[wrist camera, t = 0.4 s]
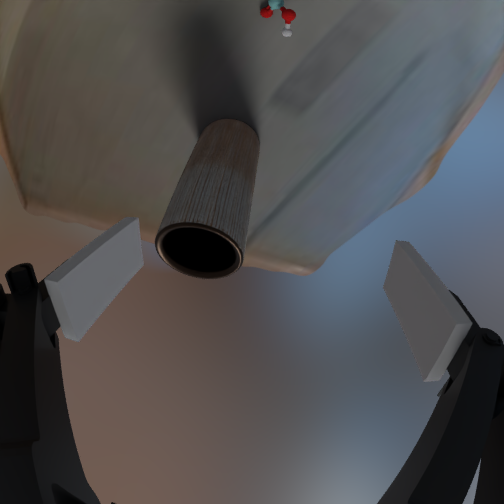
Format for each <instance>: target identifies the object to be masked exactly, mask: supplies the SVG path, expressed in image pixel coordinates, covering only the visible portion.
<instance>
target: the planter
mask: <svg viewBox="0 0 504 504" xmlns="http://www.w3.org/2000/svg"><path fill="white" fill-rule="evenodd" d="M259 149H260V144H259V139H258V137H257V135H256V133H255V132H254V130H253V129H252V128H251V127H250V126H248V125H247V124H245V123H243V122H241V121H238V120H235V119H221V120H217V121H214V122H212V123H211V124H209V125H208V126H207V127H206V128H205V129H204V130H203V132H202V134H201V135H200V137H199V139H198V141H197V143H196V145H195V147H194V149H193V151H192V154H191V156H190V158H189V160H188V162H187V164H186V166H185V169H184V171H183V173H182V175H181V177H180V180H179V182H178V184H177V186H176V189H175V191H174V193H173V196H172V198H171V200H170V203H169V205H168V207H167V210H166V212H165V215H164V217H163V220H162V222H161V225H160V227H159V230H158V232H157V235H156V238H155V247H156V250H157V253H158V254H159V256H160V257H161V259H162V260H163V261H164V262H165V263H166V264H167V265H169V266H170V267H172V268H173V269H175V270H177V271H178V272H181V273H183V274H186V275H188V276H192V277H196V278H202V279H218V278H223V277H227V276H229V275H232V274H233V273H235V272H236V271H237V270H238V269H239V268H240V267H241V265H242V263H243V260H244V253H245V247H246V240H247V233H248V226H249V219H250V212H251V205H252V198H253V192H254V185H255V178H256V171H257V164H258V158H259Z"/></svg>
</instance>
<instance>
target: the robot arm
mask: <svg viewBox="0 0 504 504" xmlns="http://www.w3.org/2000/svg"><path fill="white" fill-rule="evenodd" d="M143 265H144V263H143V256H142V247H141V239H140V230H139V219H138V218H136V217H125V218H124V219H122V220H121V221H120V222H118V223H117V224H115V225H114V226H112V227H111V228H110V229H108V230H107V231H105V232H104V233H103V234H101V235H100V236H99V237H97V238H96V239H94V240H93V241H92V242H90V243H89V244H88V245H86V246H85V247H84V248H82V249H81V250H80V251H78V252H77V253H76V254H75V255H74V256H72V257H71V258H70V259H67V260H66V261H65V262H64V263H62V264H61V266H59V267H57V268H56V269H55V270H54V271H53V272H51V273H50V274H49V275H48V276H47V277H45V278H44V279H43V280H42V281H41V282H39V283H38V282H37V279H36V276H35V273H34V269H33V266H32V265H31V264H30V263H24V264H19V265H16V266H14V267H12V268H11V269H10V270H8V271H7V273H6V274H5V277H6V280H7V282H8V285H9V288H10V291H11V294H5V292H4V290H3V287H2V285H1V284H0V504H100V502H99V499H98V498H97V496H96V494H95V493H94V491H93V490H92V489H91V487H90V486H89V484H88V482H87V480H86V478H85V475H84V472H83V469H82V465H81V462H80V459H79V455H78V452H77V448H76V444H75V440H74V437H73V432H72V428H71V424H70V419H69V414H68V409H67V404H66V398H65V392H64V386H63V378H62V370H61V361H60V351H59V339H58V336H57V333H56V330H57V329H58V328H59V327H60V326H61V328H62V331H63V334H64V336H65V338H68V339H71V340H74V341H77V342H79V341H80V340H81V338H82V337H83V336H84V335H85V333H86V332H87V331H88V329H89V328H90V327H91V325H93V323H94V322H95V321H96V320H97V318H98V317H99V316H100V315H101V313H102V312H103V311H104V310H105V309H106V308H107V306H108V305H109V304H110V303H111V302H112V300H113V299H114V298H115V297H116V296H117V294H118V293H119V292H120V291H121V290H122V289H123V287H124V286H125V285H126V284H127V283H128V282H129V280H130V279H131V278H132V277H133V276H134V275H135V274H136V273H137V271H138V270H139V269H140V268H141V267H142V266H143ZM383 289H384V291H385V293H386V294H387V297H388V299H389V301H390V303H391V305H392V307H393V309H394V312H395V313H396V316H397V318H398V320H399V323H400V325H401V327H402V329H403V332H404V334H405V336H406V339H407V341H408V343H409V345H410V348H411V350H412V353H413V355H414V358H415V360H416V363H417V365H418V368H419V370H420V373H421V376H422V378H423V381H424V382H428V381H437V380H440V379H441V377H442V376H443V374H444V373H445V371H446V370H448V372H449V374H450V377H449V379H448V380H447V382H446V383H445V385H444V386H443V388H442V389H441V390H440V392H439V393H438V395H437V396H440V398H439V400H438V402H437V404H436V407H435V409H434V411H433V413H432V415H431V417H430V419H429V421H428V423H427V425H426V427H425V429H424V431H423V433H422V435H421V437H420V438H419V440H418V442H417V444H416V446H415V447H414V449H413V451H412V453H411V454H410V456H409V458H408V459H407V461H406V463H405V464H404V466H403V467H402V469H401V470H400V472H399V474H398V475H397V477H396V478H395V480H394V481H393V483H392V484H391V485H390V487H389V488H388V490H387V491H386V492H385V494H384V495H383V497H382V498H381V499H380V500H379V502H378V503H377V504H462V503H463V501H464V499H465V497H466V495H467V492H468V490H469V488H470V485H471V483H472V480H473V478H474V475H475V473H476V470H477V467H478V465H479V462H480V459H481V463H480V472H479V477H478V483H477V489H476V494H475V499H474V504H504V345H503V341H502V339H501V338H500V336H498V334H497V333H495V332H494V331H492V330H490V329H487V328H480V327H479V325H478V324H477V322H476V321H475V319H474V318H473V317H472V315H471V314H470V313H469V311H467V308H466V307H465V306H464V305H463V303H462V302H461V300H460V299H459V297H458V296H456V295H455V294H454V293H453V292H451V291H450V290H448V289H447V287H446V286H445V285H444V284H443V282H442V281H441V280H440V278H439V277H438V276H437V275H436V274H435V272H434V271H433V270H432V269H431V267H430V266H429V265H428V264H427V262H425V260H424V259H423V258H422V257H421V255H420V254H419V253H418V252H417V251H416V249H415V248H414V247H413V246H412V245H411V244H410V243H409V242H406V241H397V240H396V243H395V246H394V250H393V254H392V258H391V262H390V265H389V269H388V273H387V276H386V280H385V283H384V286H383ZM111 504H115V503H113V502H112V503H111Z"/></svg>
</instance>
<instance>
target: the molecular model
mask: <svg viewBox="0 0 504 504" xmlns="http://www.w3.org/2000/svg"><path fill="white" fill-rule="evenodd" d="M268 4H269V5H268V6H267V7H265V8H263V9H261V11H260V14H261V16H262V17H265V18H269V17H271V16H272V14H273V10H274V9H280V10H281V11H282V18H283V19H284V20H285V28H283V30H282V34H283V35H284V36H286V37H289V36H291V35H292V30H291V29H290V24H291V21H292V20H294V19H295V17H296V13H295V12H294V11H293V10H291V9H286V8H285V7H284V6H283V5H284V1H283V0H269V1H268Z"/></svg>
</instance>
